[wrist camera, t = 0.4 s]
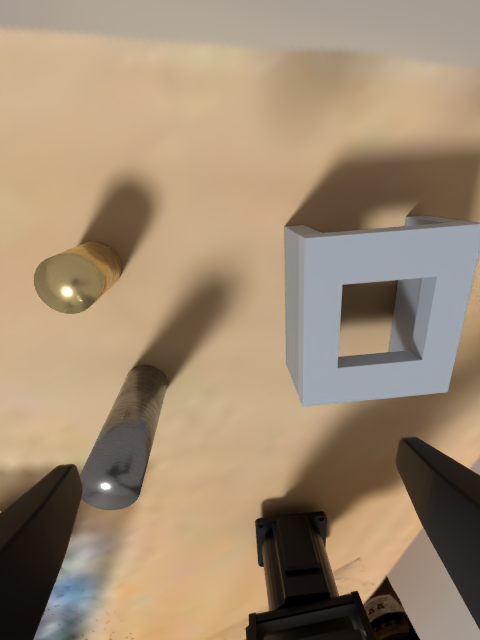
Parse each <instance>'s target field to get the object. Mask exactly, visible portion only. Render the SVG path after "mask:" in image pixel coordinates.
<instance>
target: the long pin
mask: <svg viewBox="0 0 480 640" xmlns="http://www.w3.org/2000/svg"><path fill="white" fill-rule="evenodd" d="M166 388H167V379H166V377H165V375H164V374H163V372H162V371H160V370H159V369H157V368H155V367H153V366H147V365H143V366H138V367H136V368H134V369H132V370H131V371H130V372H129V374H128V375H127V378H126V380H125V382H124V384H123V386H122V388H121V390H120V392H119V394H118V396H117V399H116V401H115V403H114V405H113V407H112V409H111V411H110V413H109V415H108V417H107V420H106V422H105V424H104V426H103V428H102V430H101V432H100V434H99V436H98V438H97V441H96V443H95V445H94V447H93V449H92V451H91V453H90V455H89V457H88V459H87V462H86V464H85V466H84V468H83V470H82V472H81V474H80V479H81V482H82V486H83V493H82V497H81V498H82V500H84V501H85V502H86V503H87V504H89V505H91V506H93V507H96V508H99V509H103V510H118V509H123V508H125V507H128V506H130V505H131V504H133V503H134V502H135V501H136V500H137V499H138V497H139V495H140V491H141V487H142V483H143V479H144V476H145V472H146V468H147V464H148V460H149V456H150V452H151V448H152V444H153V440H154V436H155V432H156V428H157V424H158V420H159V416H160V412H161V408H162V404H163V400H164V396H165V392H166Z"/></svg>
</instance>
